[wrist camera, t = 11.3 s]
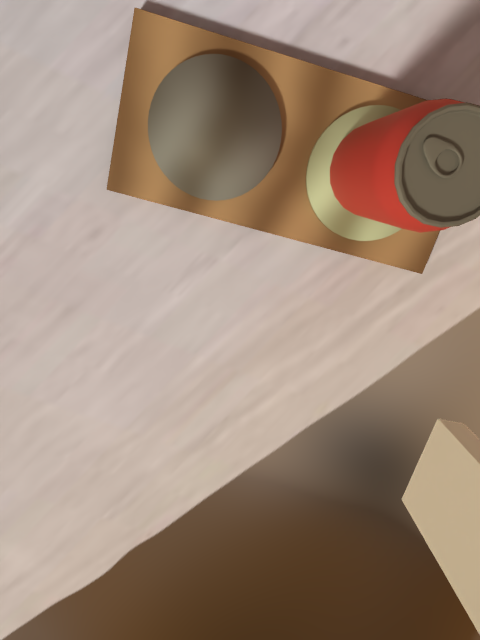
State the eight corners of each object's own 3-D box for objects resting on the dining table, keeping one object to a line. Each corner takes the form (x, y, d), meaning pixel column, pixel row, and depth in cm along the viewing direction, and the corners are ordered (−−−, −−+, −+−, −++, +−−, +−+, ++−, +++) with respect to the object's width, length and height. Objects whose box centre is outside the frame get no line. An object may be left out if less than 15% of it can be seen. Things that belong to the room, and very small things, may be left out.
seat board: (110, 189, 32) (104, 189, 31) (137, 12, 29) (132, 3, 27) (416, 271, 35) (425, 275, 34) (478, 120, 31) (490, 117, 30)
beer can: (371, 101, 29) (462, 54, 18) (433, 164, 31) (553, 157, 20) (309, 177, 31) (356, 178, 20) (371, 234, 32) (448, 265, 21)
